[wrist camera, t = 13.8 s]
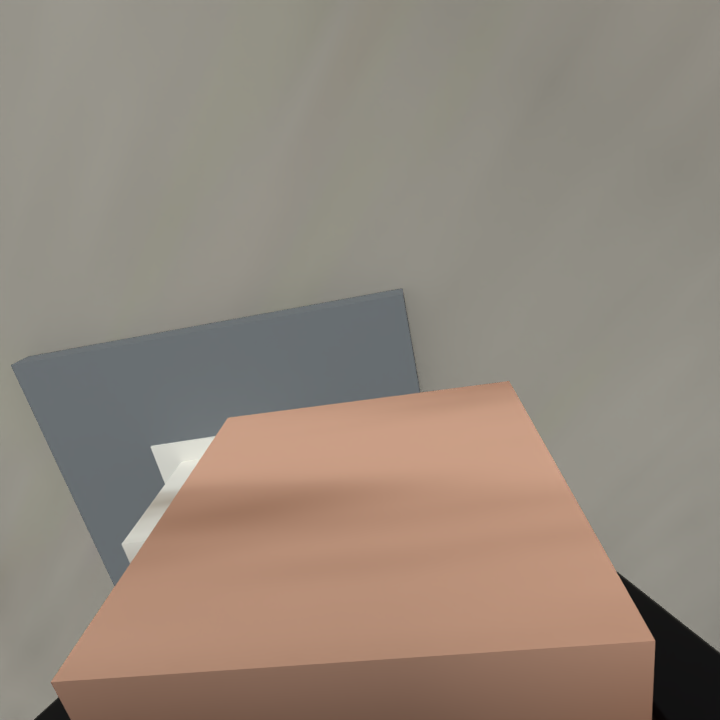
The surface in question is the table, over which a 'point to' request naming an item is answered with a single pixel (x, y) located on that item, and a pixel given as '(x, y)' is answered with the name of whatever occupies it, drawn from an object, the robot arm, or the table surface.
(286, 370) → the blue-grey square plate
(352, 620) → the terracotta block
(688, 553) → the table surface
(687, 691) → the robot arm
